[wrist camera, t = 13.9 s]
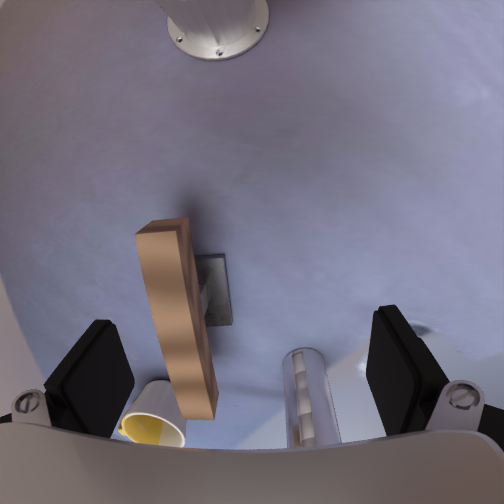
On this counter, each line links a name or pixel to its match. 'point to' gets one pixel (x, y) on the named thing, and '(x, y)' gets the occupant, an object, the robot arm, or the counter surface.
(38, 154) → the counter surface
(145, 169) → the counter surface
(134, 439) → the mug
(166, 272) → the walnut beam
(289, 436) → the silver metal cylinder
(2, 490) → the robot arm
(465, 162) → the counter surface
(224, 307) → the ridge
